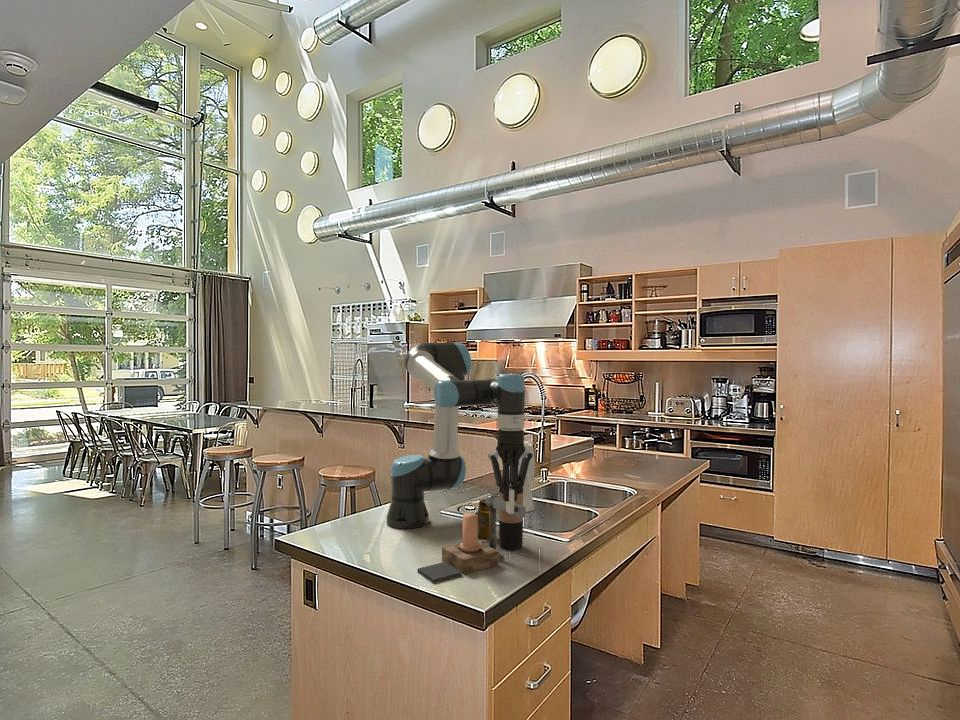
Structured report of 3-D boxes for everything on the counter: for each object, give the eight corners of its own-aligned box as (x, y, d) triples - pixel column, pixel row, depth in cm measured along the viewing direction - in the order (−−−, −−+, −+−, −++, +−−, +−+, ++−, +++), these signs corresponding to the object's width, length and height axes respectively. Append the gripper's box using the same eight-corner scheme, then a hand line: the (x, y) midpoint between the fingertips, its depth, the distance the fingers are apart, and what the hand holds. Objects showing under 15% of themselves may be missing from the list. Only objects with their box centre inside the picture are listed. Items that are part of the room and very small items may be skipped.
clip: (517, 518, 159) (517, 508, 159) (484, 505, 172) (484, 495, 172) (527, 516, 161) (527, 505, 161) (493, 503, 174) (493, 493, 174)
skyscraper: (540, 510, 219) (540, 438, 219) (526, 515, 214) (526, 440, 213) (523, 506, 226) (524, 435, 225) (509, 510, 220) (510, 437, 219)
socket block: (442, 560, 169) (442, 509, 169) (487, 549, 178) (488, 500, 178) (463, 574, 159) (463, 519, 159) (511, 561, 168) (511, 510, 168)
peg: (456, 561, 168) (456, 514, 168) (473, 557, 172) (473, 511, 171) (467, 568, 163) (467, 519, 163) (484, 563, 167) (484, 516, 166)
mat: (417, 572, 161) (417, 568, 161) (445, 565, 166) (445, 561, 166) (433, 583, 153) (433, 579, 153) (461, 575, 158) (461, 572, 158)
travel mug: (494, 547, 180) (494, 484, 179) (506, 540, 186) (507, 479, 186) (515, 552, 176) (515, 488, 175) (527, 545, 182) (527, 483, 181)
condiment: (501, 538, 189) (501, 502, 189) (479, 543, 184) (479, 506, 184) (488, 532, 195) (488, 497, 195) (467, 536, 190) (467, 500, 190)
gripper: (493, 431, 155) (493, 518, 156) (537, 429, 160) (536, 514, 160) (484, 427, 162) (483, 510, 163) (526, 426, 167) (525, 507, 167)
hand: (509, 512), depth 161 cm, fingers closed
